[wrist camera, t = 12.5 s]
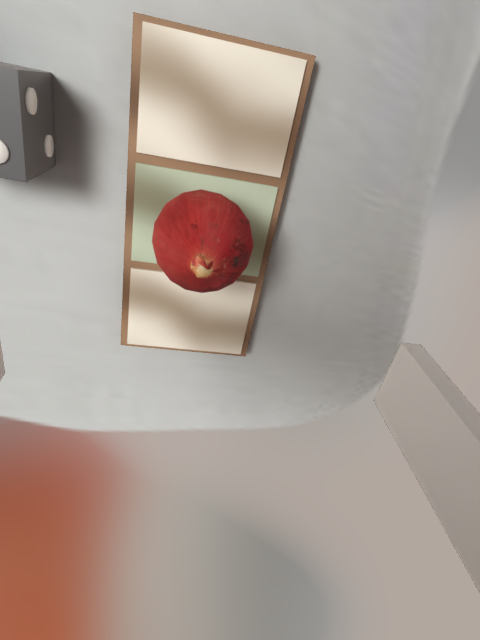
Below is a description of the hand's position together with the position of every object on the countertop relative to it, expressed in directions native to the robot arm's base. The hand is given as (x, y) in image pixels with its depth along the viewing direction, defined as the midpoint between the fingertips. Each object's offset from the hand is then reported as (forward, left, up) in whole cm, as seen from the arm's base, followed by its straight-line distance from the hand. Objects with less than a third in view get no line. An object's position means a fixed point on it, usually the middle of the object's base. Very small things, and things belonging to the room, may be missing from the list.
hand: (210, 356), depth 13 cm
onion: (0, 0, -15) cm, 15 cm away
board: (0, 0, -16) cm, 16 cm away
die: (-4, -12, -17) cm, 21 cm away
